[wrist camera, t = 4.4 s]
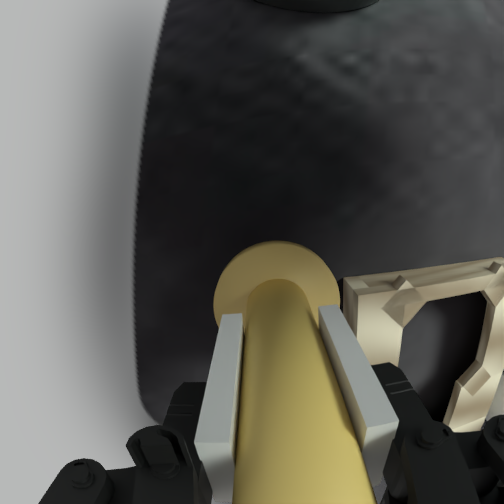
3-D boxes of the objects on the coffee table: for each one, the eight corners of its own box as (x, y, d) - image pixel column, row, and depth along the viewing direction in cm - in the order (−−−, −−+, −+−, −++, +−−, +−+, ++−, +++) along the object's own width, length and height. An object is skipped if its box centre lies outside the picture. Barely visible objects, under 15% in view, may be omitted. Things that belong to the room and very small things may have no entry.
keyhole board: (343, 269, 20) (358, 286, 17) (501, 250, 20) (526, 260, 17) (333, 459, 24) (339, 484, 21) (460, 425, 24) (473, 444, 21)
